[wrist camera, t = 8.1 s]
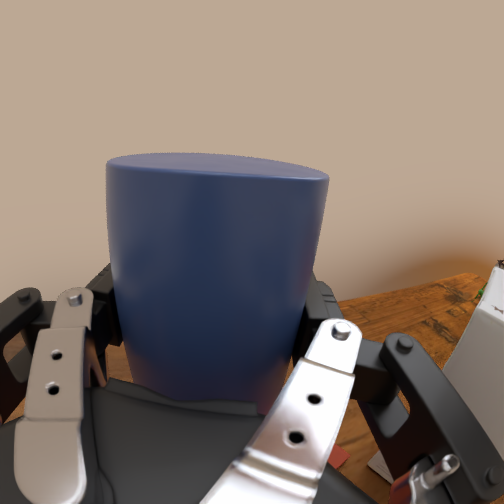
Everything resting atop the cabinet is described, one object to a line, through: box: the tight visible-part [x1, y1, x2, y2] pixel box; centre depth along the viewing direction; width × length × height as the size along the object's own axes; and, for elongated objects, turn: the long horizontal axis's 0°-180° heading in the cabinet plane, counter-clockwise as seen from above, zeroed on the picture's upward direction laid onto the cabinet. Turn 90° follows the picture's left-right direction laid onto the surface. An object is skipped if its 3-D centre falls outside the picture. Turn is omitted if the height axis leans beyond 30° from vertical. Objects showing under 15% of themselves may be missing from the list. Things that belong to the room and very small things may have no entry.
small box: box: [367, 267, 504, 484], centre depth 9 cm, size 8×6×10 cm
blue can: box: [106, 153, 329, 415], centre depth 9 cm, size 6×6×12 cm
